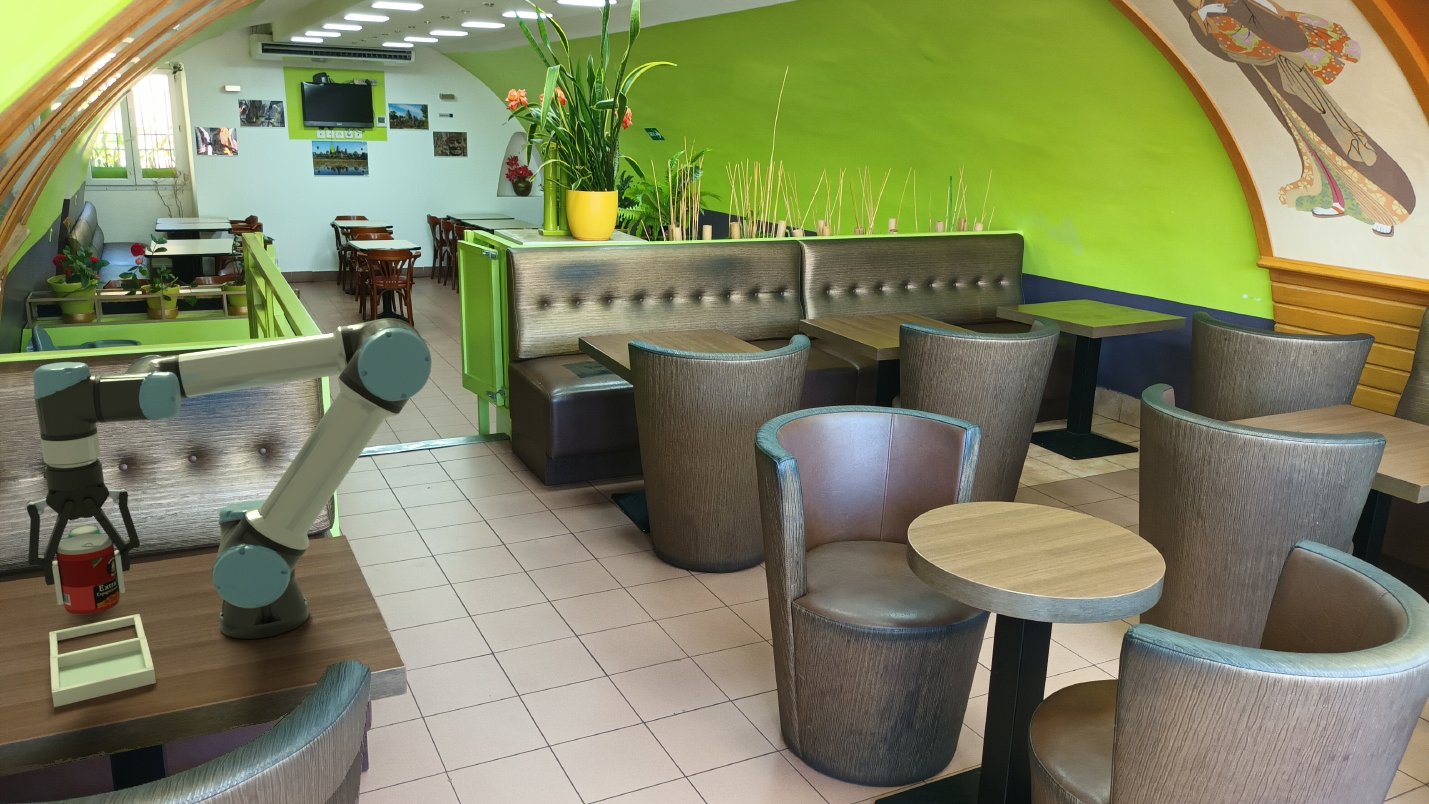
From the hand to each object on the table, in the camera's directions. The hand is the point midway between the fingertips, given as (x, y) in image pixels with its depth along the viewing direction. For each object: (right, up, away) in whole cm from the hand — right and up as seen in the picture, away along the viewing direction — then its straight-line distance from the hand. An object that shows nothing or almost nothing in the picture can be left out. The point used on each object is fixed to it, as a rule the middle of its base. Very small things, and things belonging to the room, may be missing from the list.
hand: (91, 595), depth 161 cm
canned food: (0, -2, +1) cm, 2 cm away
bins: (-4, -13, +9) cm, 16 cm away
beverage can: (-19, -8, +31) cm, 37 cm away
